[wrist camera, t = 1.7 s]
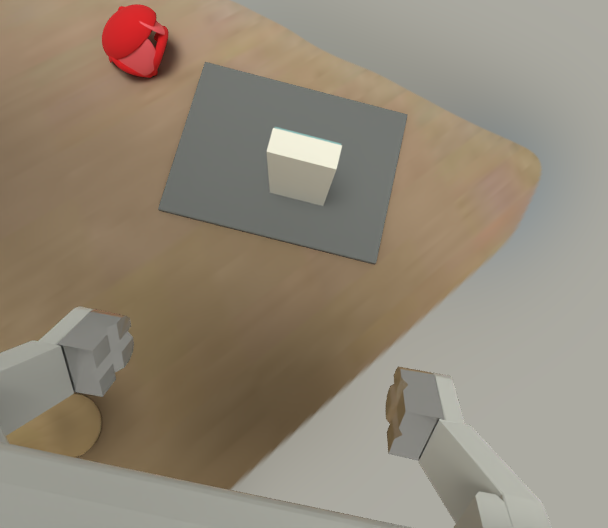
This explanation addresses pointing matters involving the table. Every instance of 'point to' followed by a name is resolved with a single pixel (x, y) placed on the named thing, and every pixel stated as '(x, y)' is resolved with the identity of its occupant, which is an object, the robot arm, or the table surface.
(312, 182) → the tile
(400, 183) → the table surface
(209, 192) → the mat
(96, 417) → the beer glass
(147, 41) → the red rounded piece
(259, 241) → the table surface
